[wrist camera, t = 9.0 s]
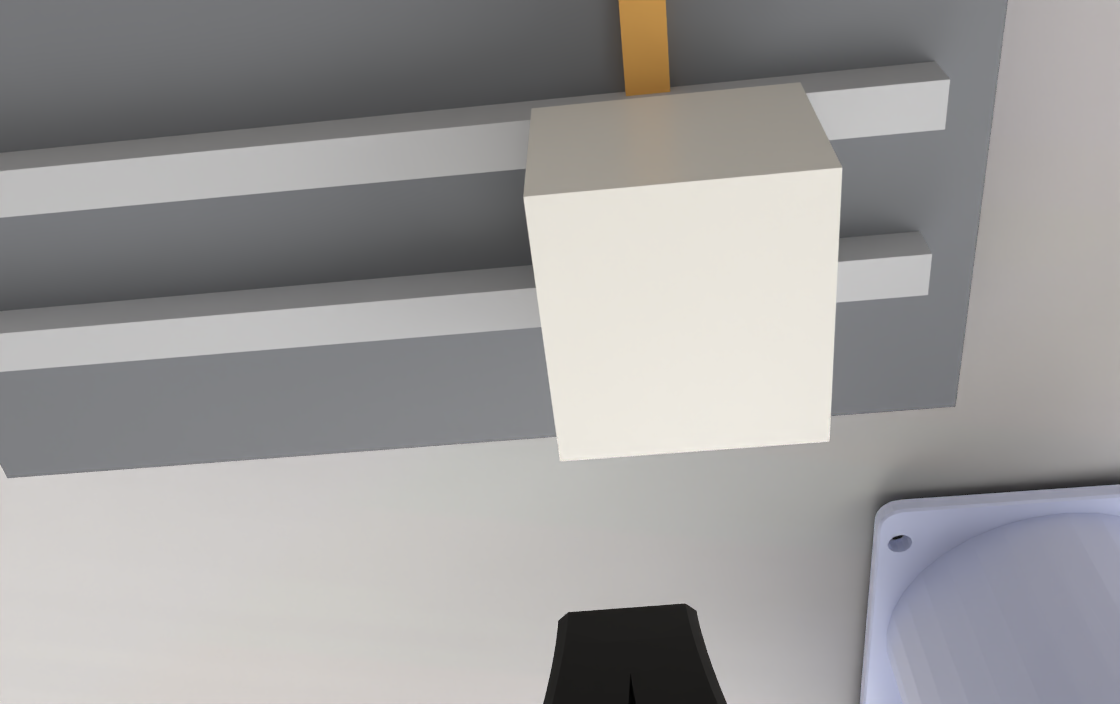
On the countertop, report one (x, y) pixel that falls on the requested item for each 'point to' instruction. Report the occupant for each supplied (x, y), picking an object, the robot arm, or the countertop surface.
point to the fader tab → (685, 270)
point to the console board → (416, 208)
